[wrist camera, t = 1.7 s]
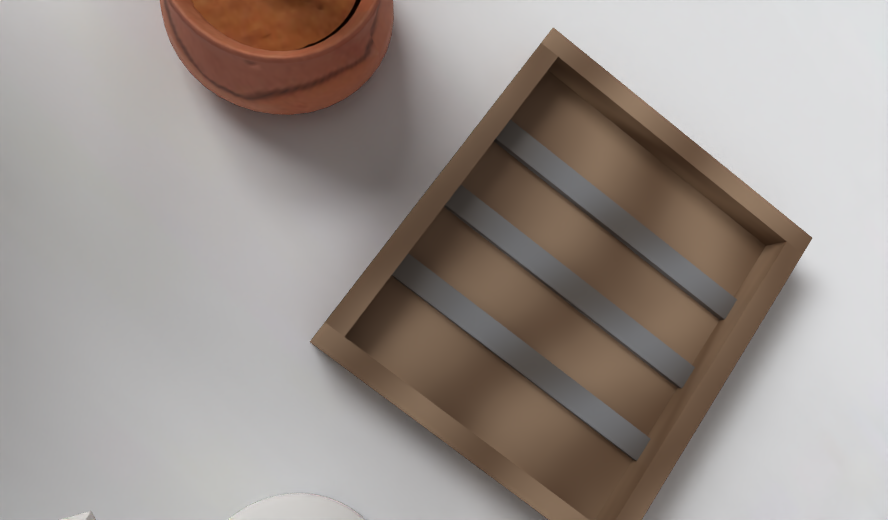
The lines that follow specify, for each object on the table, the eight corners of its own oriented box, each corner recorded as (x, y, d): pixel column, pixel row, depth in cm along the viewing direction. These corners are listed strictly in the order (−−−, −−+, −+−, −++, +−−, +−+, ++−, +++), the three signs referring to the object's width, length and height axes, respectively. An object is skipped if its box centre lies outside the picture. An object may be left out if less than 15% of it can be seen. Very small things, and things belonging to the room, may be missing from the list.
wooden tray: (311, 341, 29) (309, 341, 26) (536, 51, 32) (553, 27, 30) (589, 548, 30) (612, 567, 27) (777, 245, 33) (812, 237, 31)
